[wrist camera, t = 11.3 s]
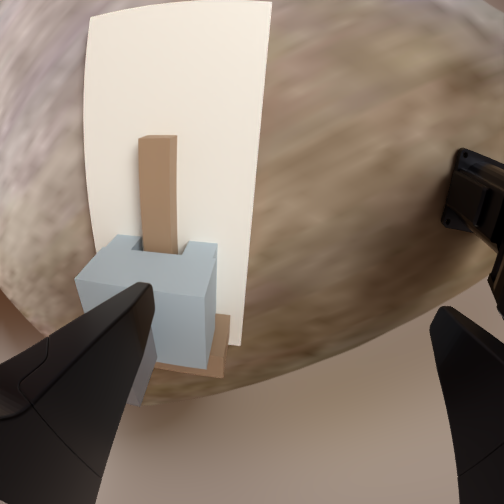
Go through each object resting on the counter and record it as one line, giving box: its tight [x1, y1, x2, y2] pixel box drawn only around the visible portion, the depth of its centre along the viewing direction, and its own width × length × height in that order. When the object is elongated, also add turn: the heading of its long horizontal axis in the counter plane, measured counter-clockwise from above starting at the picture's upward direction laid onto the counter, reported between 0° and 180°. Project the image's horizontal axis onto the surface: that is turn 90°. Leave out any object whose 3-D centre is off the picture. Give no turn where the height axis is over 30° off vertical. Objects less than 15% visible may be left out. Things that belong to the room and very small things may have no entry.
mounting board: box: [83, 0, 272, 378], centre depth 17 cm, size 12×26×6 cm, turn 175°
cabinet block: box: [75, 234, 218, 407], centre depth 17 cm, size 8×6×10 cm
